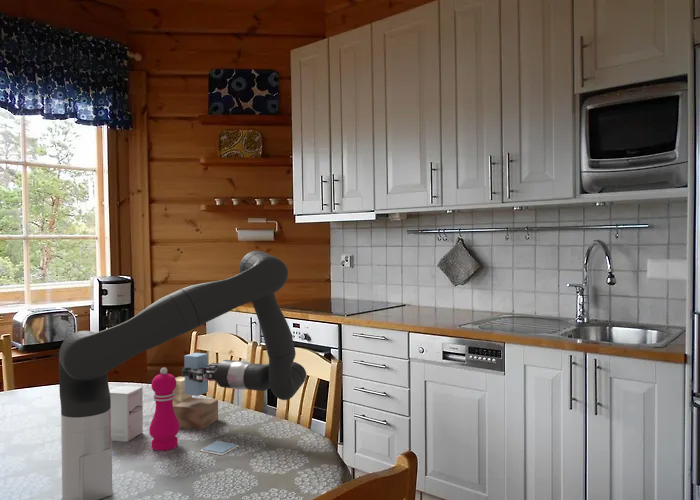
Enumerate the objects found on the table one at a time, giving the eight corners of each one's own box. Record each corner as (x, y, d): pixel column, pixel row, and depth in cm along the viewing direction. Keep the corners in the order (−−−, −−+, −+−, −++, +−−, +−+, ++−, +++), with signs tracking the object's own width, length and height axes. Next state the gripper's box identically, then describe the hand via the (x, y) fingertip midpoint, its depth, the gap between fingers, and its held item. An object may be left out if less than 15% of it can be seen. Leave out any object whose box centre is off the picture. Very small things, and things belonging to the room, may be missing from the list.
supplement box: (128, 442, 145) (127, 393, 145) (102, 440, 147) (101, 392, 147) (144, 432, 153) (143, 386, 152) (119, 431, 154) (118, 385, 154)
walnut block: (218, 420, 164) (218, 399, 164) (202, 430, 155) (202, 408, 155) (190, 417, 166) (190, 397, 166) (173, 427, 158) (173, 406, 157)
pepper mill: (143, 448, 141) (142, 369, 141) (165, 439, 147) (164, 363, 147) (164, 453, 137) (163, 372, 137) (185, 444, 144) (184, 366, 144)
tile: (239, 446, 142) (239, 444, 142) (222, 455, 136) (222, 453, 136) (217, 442, 145) (217, 440, 145) (200, 451, 139) (200, 448, 139)
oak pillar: (192, 414, 169) (191, 377, 168) (181, 418, 165) (181, 381, 164) (180, 412, 171) (180, 376, 170) (169, 416, 167) (169, 379, 166)
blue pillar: (208, 391, 162) (207, 353, 161) (197, 395, 158) (196, 356, 157) (195, 390, 164) (195, 352, 163) (185, 394, 160) (184, 355, 159)
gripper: (252, 356, 161) (204, 351, 168) (220, 366, 148) (170, 361, 155) (252, 382, 161) (205, 376, 168) (220, 395, 148) (171, 388, 155)
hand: (188, 369), depth 162 cm, fingers closed on blue pillar, 4 cm apart
